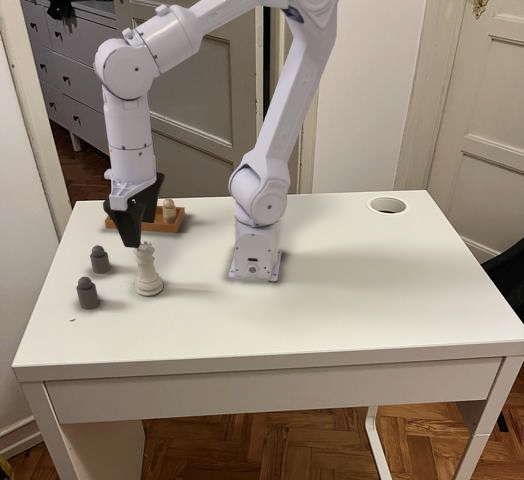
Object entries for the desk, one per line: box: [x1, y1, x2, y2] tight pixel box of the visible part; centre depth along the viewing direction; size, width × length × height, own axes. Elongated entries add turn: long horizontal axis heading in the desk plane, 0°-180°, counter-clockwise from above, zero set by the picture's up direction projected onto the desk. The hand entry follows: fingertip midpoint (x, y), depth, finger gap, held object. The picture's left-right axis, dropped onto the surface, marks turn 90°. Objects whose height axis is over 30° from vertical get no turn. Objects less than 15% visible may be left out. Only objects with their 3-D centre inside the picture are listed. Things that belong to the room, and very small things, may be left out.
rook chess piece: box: [132, 240, 164, 297], centre depth 87 cm, size 4×4×8 cm
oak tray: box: [104, 205, 186, 234], centre depth 105 cm, size 7×13×2 cm, turn 84°
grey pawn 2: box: [89, 244, 111, 275], centre depth 92 cm, size 3×3×5 cm
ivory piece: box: [162, 197, 177, 224], centre depth 104 cm, size 2×2×5 cm
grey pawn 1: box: [75, 276, 100, 310], centre depth 85 cm, size 3×3×5 cm
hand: (140, 233), depth 84 cm, fingers open, 7 cm apart
